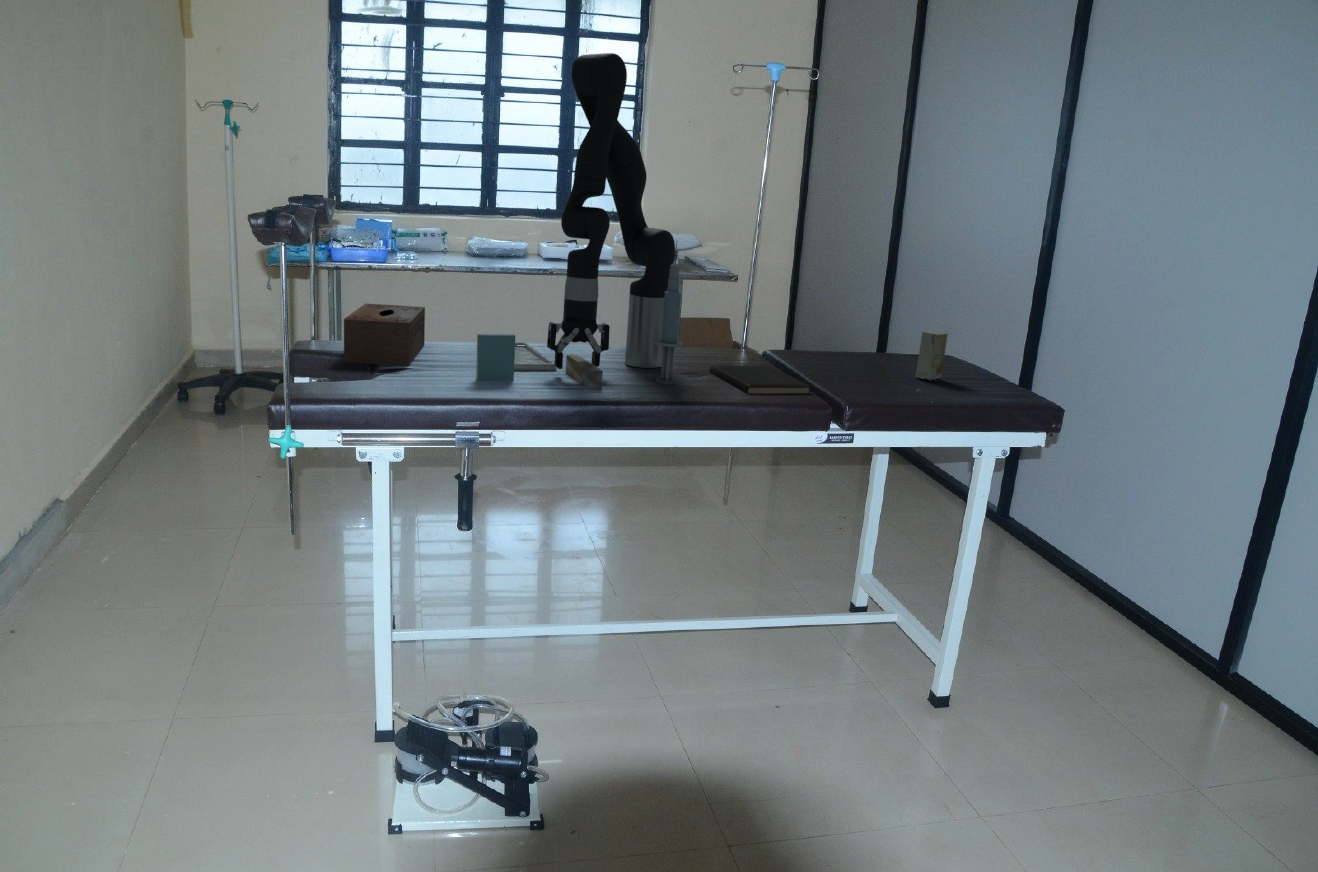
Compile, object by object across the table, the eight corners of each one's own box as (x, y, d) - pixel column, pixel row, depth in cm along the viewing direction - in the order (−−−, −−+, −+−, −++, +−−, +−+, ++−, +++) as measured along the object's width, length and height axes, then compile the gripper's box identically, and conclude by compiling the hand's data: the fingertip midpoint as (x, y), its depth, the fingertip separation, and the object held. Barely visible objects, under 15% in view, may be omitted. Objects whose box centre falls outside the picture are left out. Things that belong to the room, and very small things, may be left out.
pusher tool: (576, 371, 239) (577, 354, 238) (601, 388, 223) (602, 370, 222) (565, 371, 238) (566, 354, 237) (590, 388, 222) (591, 370, 221)
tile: (511, 378, 226) (513, 334, 224) (513, 380, 225) (515, 335, 222) (476, 379, 223) (477, 333, 220) (477, 380, 222) (478, 335, 219)
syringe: (666, 378, 239) (676, 228, 229) (682, 384, 234) (693, 231, 224) (647, 380, 236) (656, 228, 226) (662, 386, 231) (673, 230, 221)
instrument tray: (525, 348, 263) (525, 342, 263) (556, 370, 238) (556, 364, 238) (480, 348, 258) (480, 342, 258) (507, 370, 234) (507, 364, 234)
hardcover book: (768, 374, 256) (768, 365, 255) (810, 396, 235) (811, 386, 234) (708, 374, 250) (709, 365, 250) (746, 396, 230) (747, 386, 229)
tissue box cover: (409, 366, 232) (409, 323, 229) (344, 363, 230) (343, 319, 227) (424, 346, 256) (424, 307, 254) (365, 343, 255) (365, 303, 252)
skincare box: (929, 382, 259) (936, 334, 256) (914, 379, 262) (921, 331, 259) (941, 379, 264) (948, 332, 260) (926, 376, 266) (933, 330, 263)
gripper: (605, 295, 236) (601, 365, 240) (545, 294, 230) (542, 365, 234) (616, 300, 229) (611, 371, 233) (555, 298, 224) (551, 371, 228)
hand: (576, 368), depth 234 cm, fingers open, 8 cm apart
